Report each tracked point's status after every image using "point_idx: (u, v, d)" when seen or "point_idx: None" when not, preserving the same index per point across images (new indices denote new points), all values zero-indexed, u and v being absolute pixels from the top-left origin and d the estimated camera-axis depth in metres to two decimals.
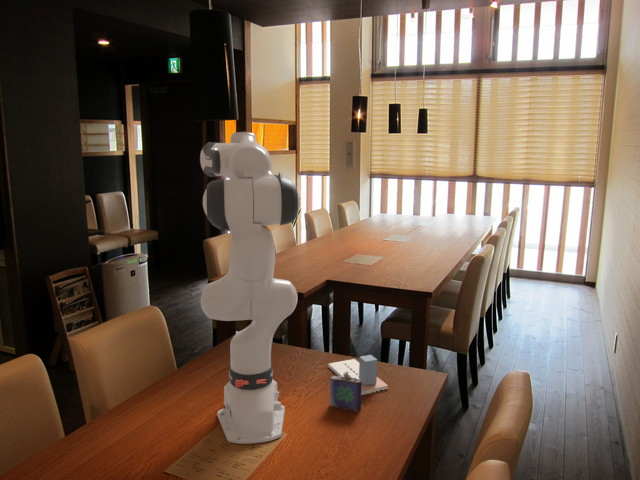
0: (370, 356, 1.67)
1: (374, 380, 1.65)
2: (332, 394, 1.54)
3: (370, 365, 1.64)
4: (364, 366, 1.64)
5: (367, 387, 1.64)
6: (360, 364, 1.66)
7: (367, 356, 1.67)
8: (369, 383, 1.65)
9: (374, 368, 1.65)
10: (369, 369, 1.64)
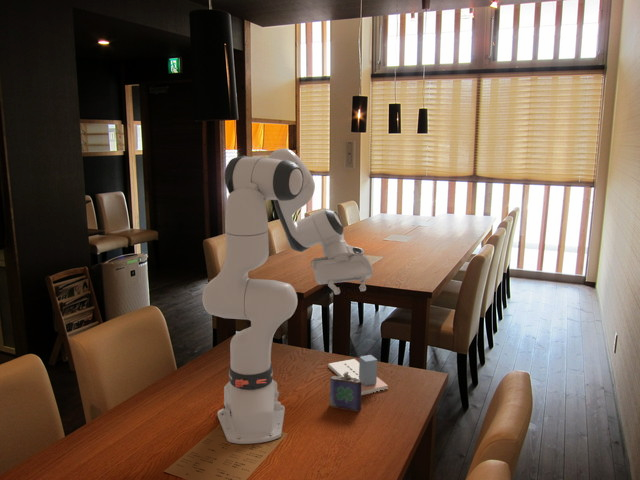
0: (370, 356, 1.67)
1: (374, 380, 1.65)
2: (332, 394, 1.54)
3: (370, 365, 1.64)
4: (364, 366, 1.64)
5: (367, 387, 1.64)
6: (360, 364, 1.66)
7: (367, 356, 1.67)
8: (369, 383, 1.65)
9: (374, 368, 1.65)
10: (369, 369, 1.64)
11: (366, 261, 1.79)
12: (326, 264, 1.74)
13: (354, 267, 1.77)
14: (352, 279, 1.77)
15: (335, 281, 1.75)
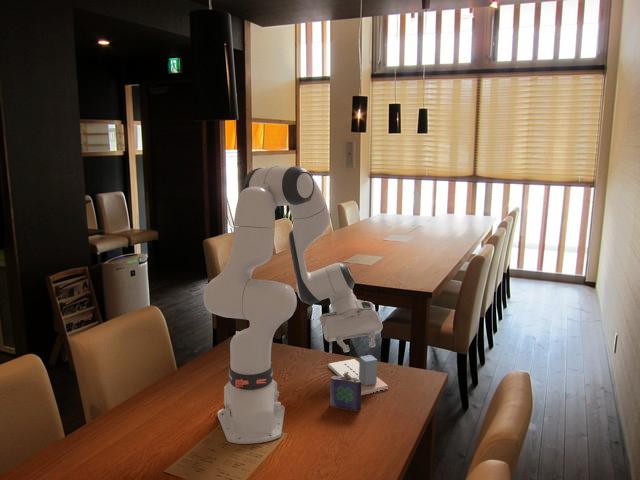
0: (370, 356, 1.67)
1: (374, 380, 1.65)
2: (332, 394, 1.54)
3: (370, 365, 1.64)
4: (364, 366, 1.64)
5: (367, 387, 1.64)
6: (360, 364, 1.66)
7: (367, 356, 1.67)
8: (369, 383, 1.65)
9: (374, 368, 1.65)
10: (369, 369, 1.64)
11: (375, 316, 1.76)
12: (335, 320, 1.71)
13: (364, 323, 1.74)
14: (361, 334, 1.74)
15: (344, 337, 1.72)
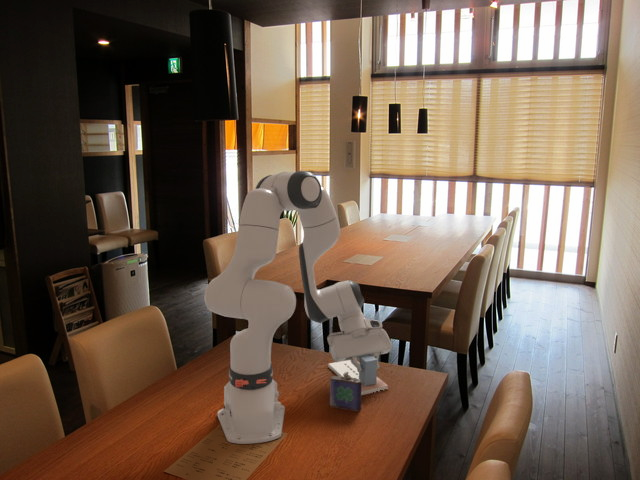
0: (370, 356, 1.67)
1: (374, 380, 1.65)
2: (332, 394, 1.54)
3: (370, 365, 1.64)
4: (364, 366, 1.64)
5: (367, 387, 1.64)
6: (360, 364, 1.66)
7: (367, 356, 1.67)
8: (369, 383, 1.65)
9: (374, 368, 1.65)
10: (369, 369, 1.64)
11: (384, 335, 1.72)
12: (343, 340, 1.67)
13: (372, 343, 1.69)
14: (370, 354, 1.70)
15: None
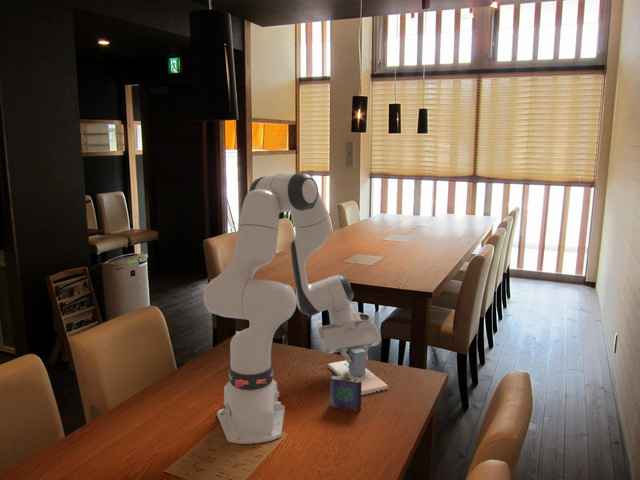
0: (359, 348, 1.73)
1: (363, 371, 1.72)
2: (332, 394, 1.54)
3: (359, 356, 1.70)
4: (353, 357, 1.70)
5: (367, 387, 1.64)
6: (350, 355, 1.72)
7: (356, 348, 1.73)
8: (358, 374, 1.71)
9: (363, 359, 1.71)
10: (358, 361, 1.70)
11: (373, 328, 1.78)
12: (333, 333, 1.73)
13: (362, 335, 1.76)
14: (359, 346, 1.76)
15: None
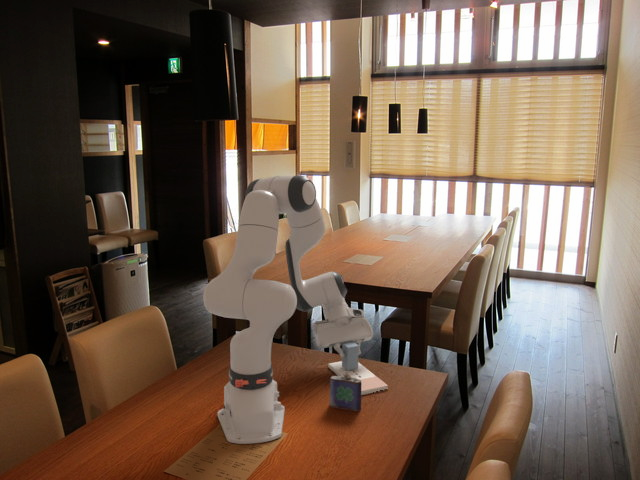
0: (352, 343, 1.77)
1: (356, 365, 1.76)
2: (332, 394, 1.54)
3: (352, 351, 1.74)
4: (346, 352, 1.74)
5: (367, 387, 1.64)
6: (343, 350, 1.77)
7: (349, 343, 1.77)
8: (351, 368, 1.75)
9: (356, 354, 1.75)
10: (351, 355, 1.74)
11: (366, 323, 1.82)
12: (327, 328, 1.77)
13: (355, 330, 1.80)
14: (352, 341, 1.81)
15: None
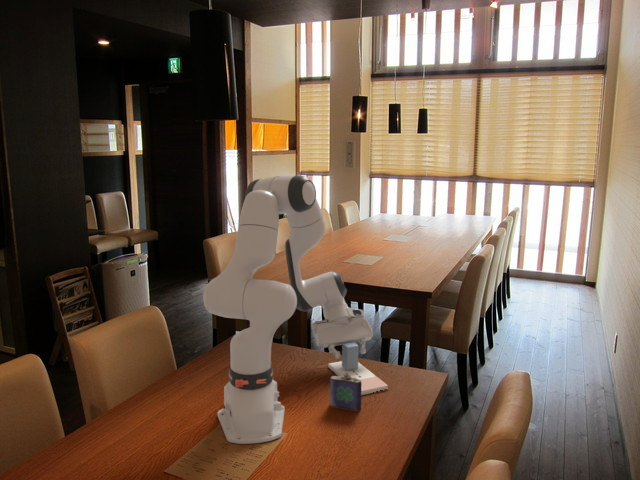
0: (352, 342, 1.77)
1: (356, 365, 1.76)
2: (332, 394, 1.54)
3: (352, 350, 1.74)
4: (346, 352, 1.74)
5: (367, 387, 1.64)
6: (343, 350, 1.77)
7: (349, 342, 1.77)
8: (351, 368, 1.75)
9: (356, 354, 1.75)
10: (350, 355, 1.74)
11: (366, 323, 1.83)
12: (327, 328, 1.77)
13: (354, 330, 1.80)
14: None
15: (335, 344, 1.78)
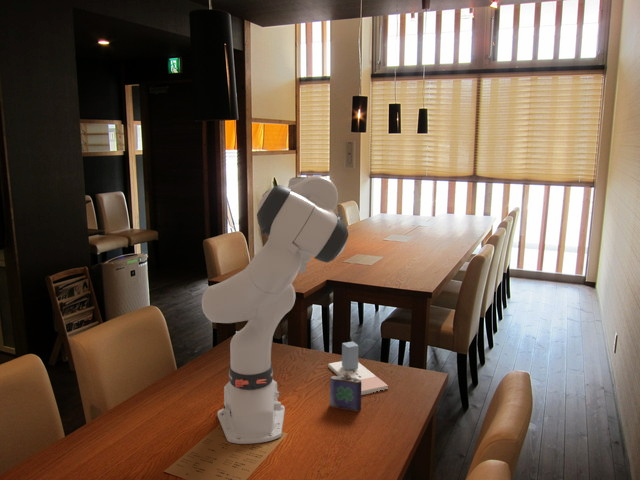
0: (352, 342, 1.77)
1: (356, 365, 1.76)
2: (332, 394, 1.54)
3: (352, 350, 1.74)
4: (346, 352, 1.74)
5: (367, 387, 1.64)
6: (343, 350, 1.77)
7: (349, 342, 1.77)
8: (351, 368, 1.75)
9: (356, 354, 1.75)
10: (350, 355, 1.74)
11: None
12: None
13: None
14: None
15: None
